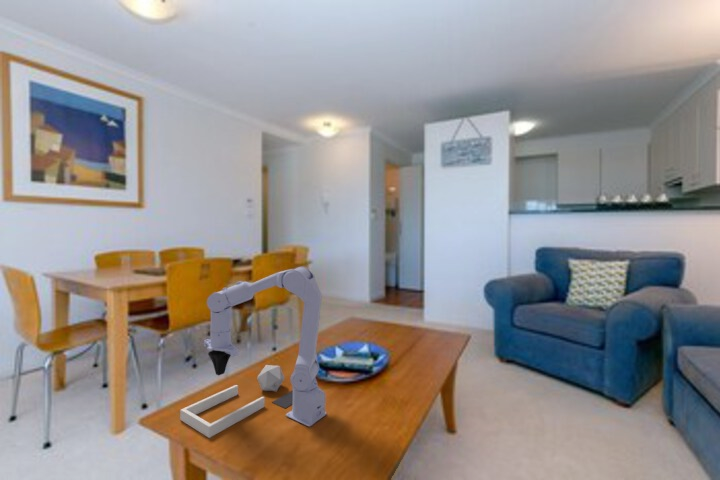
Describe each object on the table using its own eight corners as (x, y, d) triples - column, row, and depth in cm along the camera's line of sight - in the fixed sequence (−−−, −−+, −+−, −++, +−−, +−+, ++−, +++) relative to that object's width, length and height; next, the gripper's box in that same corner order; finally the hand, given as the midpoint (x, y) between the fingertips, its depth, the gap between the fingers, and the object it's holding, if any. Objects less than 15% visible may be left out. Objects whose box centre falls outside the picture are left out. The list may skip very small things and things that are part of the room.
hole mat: (307, 395, 109) (307, 394, 109) (285, 408, 100) (285, 408, 100) (294, 390, 112) (294, 389, 112) (271, 402, 104) (271, 402, 104)
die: (267, 400, 106) (285, 374, 108) (248, 383, 109) (266, 358, 111) (275, 397, 114) (292, 372, 116) (257, 381, 116) (274, 358, 118)
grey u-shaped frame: (264, 406, 101) (264, 397, 101) (209, 437, 86) (209, 426, 86) (236, 393, 109) (236, 384, 109) (180, 419, 93) (180, 409, 93)
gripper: (194, 328, 100) (194, 372, 101) (223, 338, 92) (223, 385, 93) (215, 323, 106) (215, 364, 107) (244, 332, 98) (243, 376, 99)
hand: (220, 373), depth 100 cm, fingers closed
